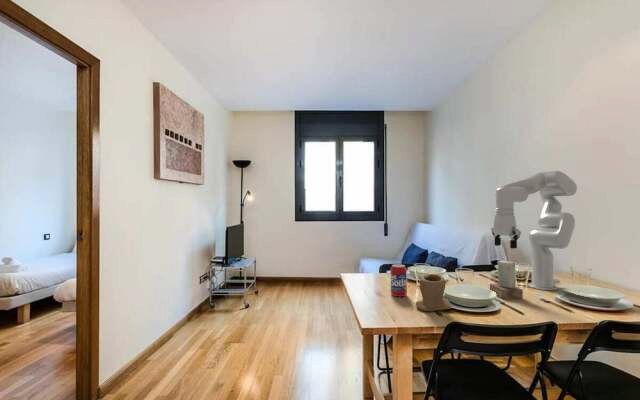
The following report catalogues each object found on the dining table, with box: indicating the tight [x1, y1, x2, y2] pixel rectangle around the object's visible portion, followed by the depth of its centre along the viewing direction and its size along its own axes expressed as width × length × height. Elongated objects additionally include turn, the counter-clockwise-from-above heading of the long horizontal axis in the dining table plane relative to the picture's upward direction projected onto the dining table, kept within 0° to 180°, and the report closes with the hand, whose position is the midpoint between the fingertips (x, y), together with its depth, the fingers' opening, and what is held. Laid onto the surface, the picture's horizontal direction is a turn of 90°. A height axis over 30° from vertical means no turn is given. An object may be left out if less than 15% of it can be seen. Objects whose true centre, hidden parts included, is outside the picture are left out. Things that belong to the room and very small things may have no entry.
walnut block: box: [489, 283, 524, 300], centre depth 149 cm, size 10×10×5 cm
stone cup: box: [415, 273, 452, 312], centre depth 131 cm, size 15×12×15 cm
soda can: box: [390, 263, 408, 298], centre depth 152 cm, size 8×8×15 cm
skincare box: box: [497, 259, 516, 288], centre depth 149 cm, size 6×4×12 cm
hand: (505, 246), depth 150 cm, fingers open, 9 cm apart
